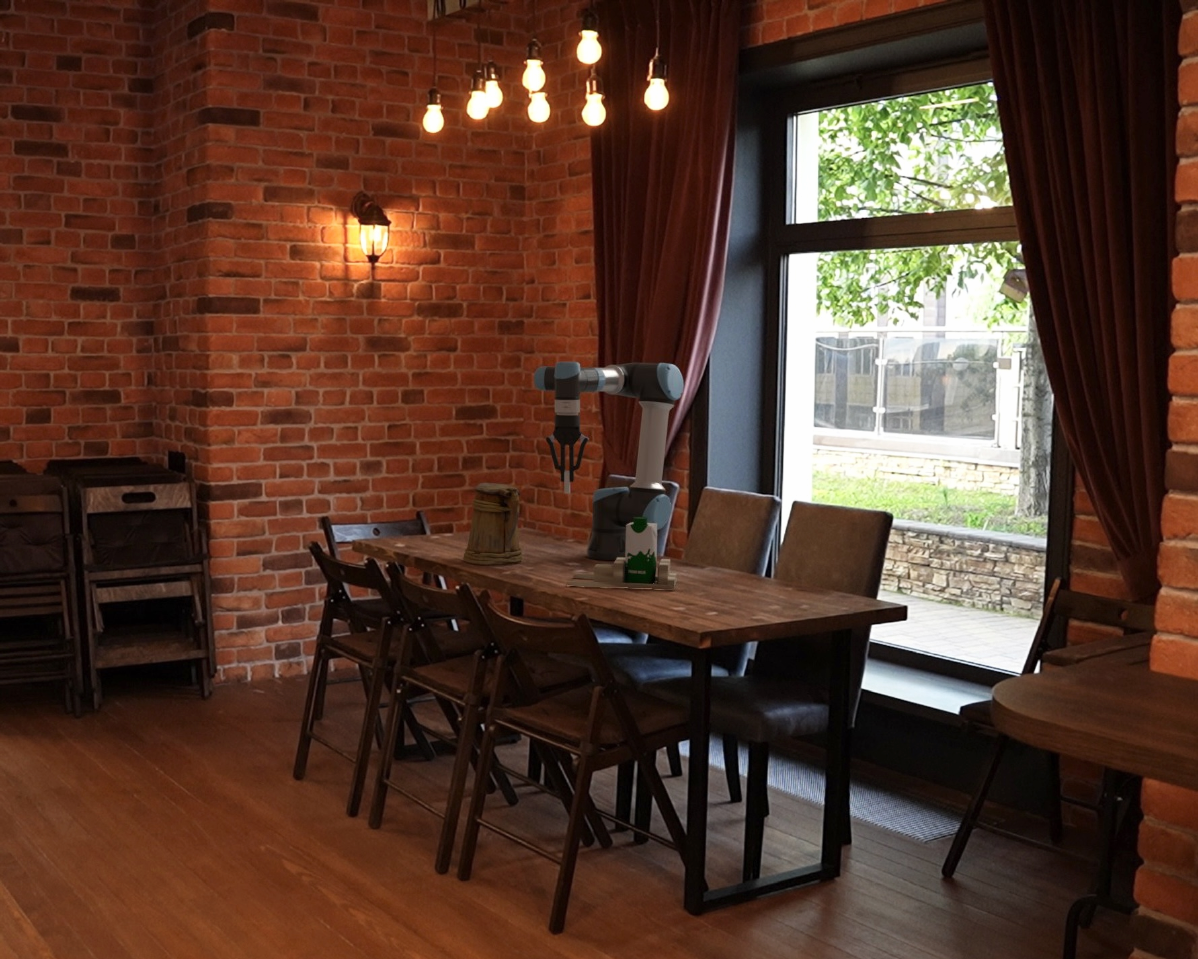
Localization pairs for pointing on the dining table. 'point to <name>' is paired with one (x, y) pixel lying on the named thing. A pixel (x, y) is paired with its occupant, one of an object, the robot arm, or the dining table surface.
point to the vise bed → (664, 581)
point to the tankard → (494, 526)
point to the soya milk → (641, 551)
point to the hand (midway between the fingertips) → (567, 492)
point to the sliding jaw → (611, 572)
